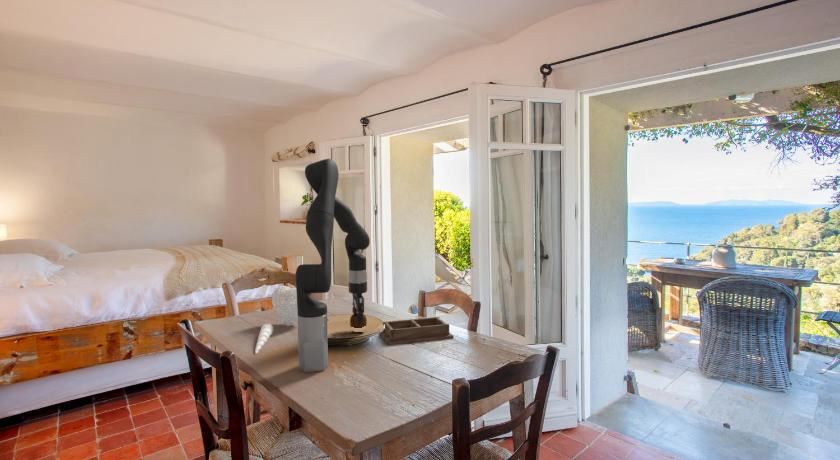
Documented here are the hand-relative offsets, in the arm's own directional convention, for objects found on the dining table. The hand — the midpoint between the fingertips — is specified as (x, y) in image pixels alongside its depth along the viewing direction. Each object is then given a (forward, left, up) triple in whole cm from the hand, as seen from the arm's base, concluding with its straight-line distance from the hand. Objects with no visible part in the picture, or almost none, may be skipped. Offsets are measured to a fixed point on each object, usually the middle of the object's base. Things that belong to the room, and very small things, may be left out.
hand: (358, 319), depth 169 cm
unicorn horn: (-2, +37, -6) cm, 37 cm away
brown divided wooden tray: (-12, -21, -5) cm, 25 cm away
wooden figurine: (0, 0, -5) cm, 5 cm away
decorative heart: (+19, +27, -5) cm, 33 cm away
